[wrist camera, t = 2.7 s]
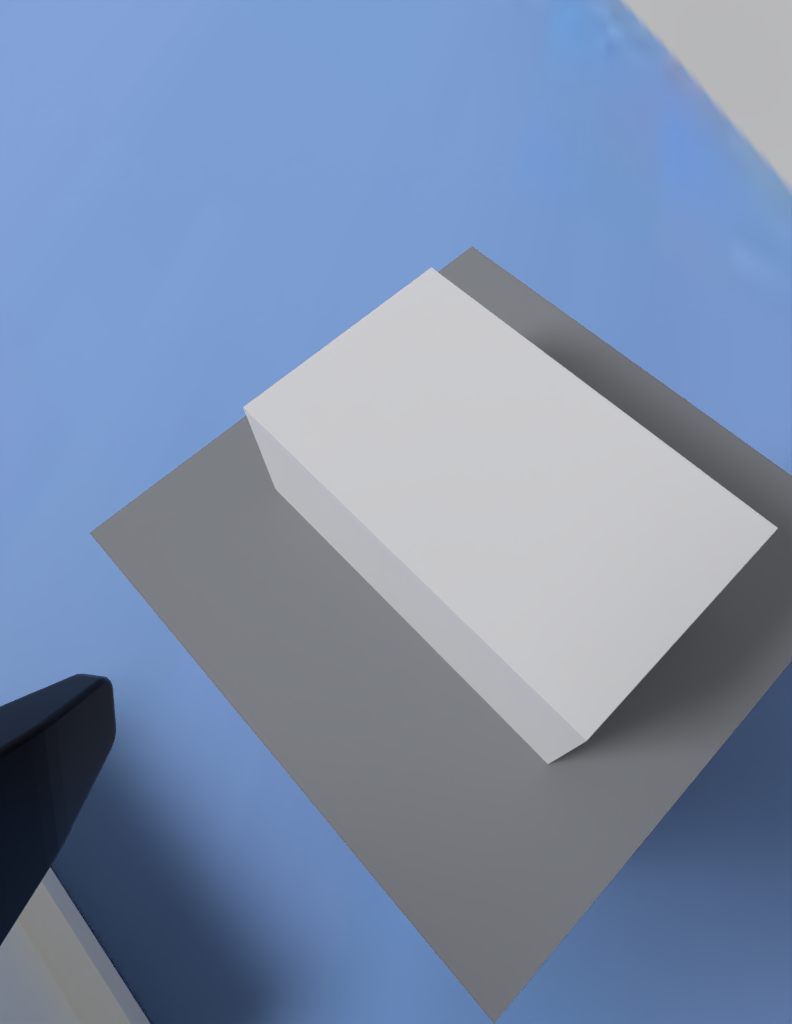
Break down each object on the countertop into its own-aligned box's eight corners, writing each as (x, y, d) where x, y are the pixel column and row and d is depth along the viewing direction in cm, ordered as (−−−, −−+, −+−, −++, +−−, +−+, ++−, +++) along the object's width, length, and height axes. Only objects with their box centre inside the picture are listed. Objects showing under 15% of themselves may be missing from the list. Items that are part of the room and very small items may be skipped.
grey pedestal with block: (565, 749, 17) (1004, 470, 4) (436, 891, 16) (521, 1086, 3) (436, 622, 19) (482, 136, 6) (309, 742, 17) (11, 459, 5)
